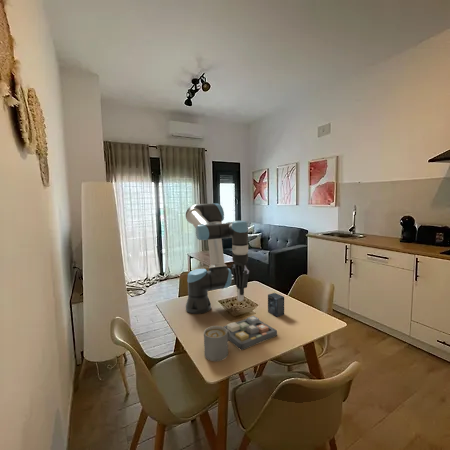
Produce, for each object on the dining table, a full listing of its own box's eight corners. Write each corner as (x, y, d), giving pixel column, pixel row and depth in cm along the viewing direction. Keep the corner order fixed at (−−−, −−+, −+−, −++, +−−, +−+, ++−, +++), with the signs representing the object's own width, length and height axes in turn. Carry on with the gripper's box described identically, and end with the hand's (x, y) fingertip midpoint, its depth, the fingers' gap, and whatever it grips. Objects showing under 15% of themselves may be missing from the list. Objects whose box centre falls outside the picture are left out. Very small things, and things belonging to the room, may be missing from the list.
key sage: (237, 327, 128) (237, 323, 128) (244, 325, 131) (244, 321, 131) (242, 331, 125) (242, 327, 124) (249, 329, 127) (249, 324, 127)
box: (267, 312, 149) (267, 294, 148) (275, 309, 152) (274, 292, 151) (277, 317, 142) (276, 298, 141) (284, 314, 145) (284, 296, 144)
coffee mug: (213, 364, 103) (212, 340, 102) (200, 353, 111) (199, 330, 110) (239, 352, 111) (238, 329, 110) (225, 342, 119) (224, 321, 118)
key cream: (227, 328, 125) (226, 324, 125) (234, 325, 127) (234, 321, 127) (232, 332, 121) (232, 327, 121) (239, 329, 124) (239, 325, 123)
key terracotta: (255, 330, 126) (255, 325, 125) (262, 327, 128) (262, 323, 128) (261, 334, 122) (261, 329, 122) (268, 331, 124) (268, 327, 124)
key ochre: (235, 337, 119) (235, 333, 119) (243, 334, 122) (242, 330, 121) (240, 342, 116) (240, 337, 115) (248, 338, 118) (248, 334, 118)
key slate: (246, 321, 131) (246, 317, 131) (253, 319, 134) (253, 315, 134) (252, 325, 128) (252, 320, 128) (259, 322, 130) (259, 318, 130)
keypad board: (219, 332, 127) (219, 327, 127) (253, 321, 138) (253, 316, 138) (241, 350, 112) (241, 343, 111) (277, 335, 123) (276, 329, 123)
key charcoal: (245, 330, 122) (245, 326, 122) (253, 328, 125) (252, 323, 124) (251, 334, 119) (251, 330, 118) (258, 331, 121) (258, 327, 121)
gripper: (226, 251, 127) (226, 297, 130) (241, 257, 116) (241, 307, 119) (238, 249, 131) (239, 294, 134) (254, 254, 120) (254, 303, 123)
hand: (240, 300), depth 127 cm, fingers closed
